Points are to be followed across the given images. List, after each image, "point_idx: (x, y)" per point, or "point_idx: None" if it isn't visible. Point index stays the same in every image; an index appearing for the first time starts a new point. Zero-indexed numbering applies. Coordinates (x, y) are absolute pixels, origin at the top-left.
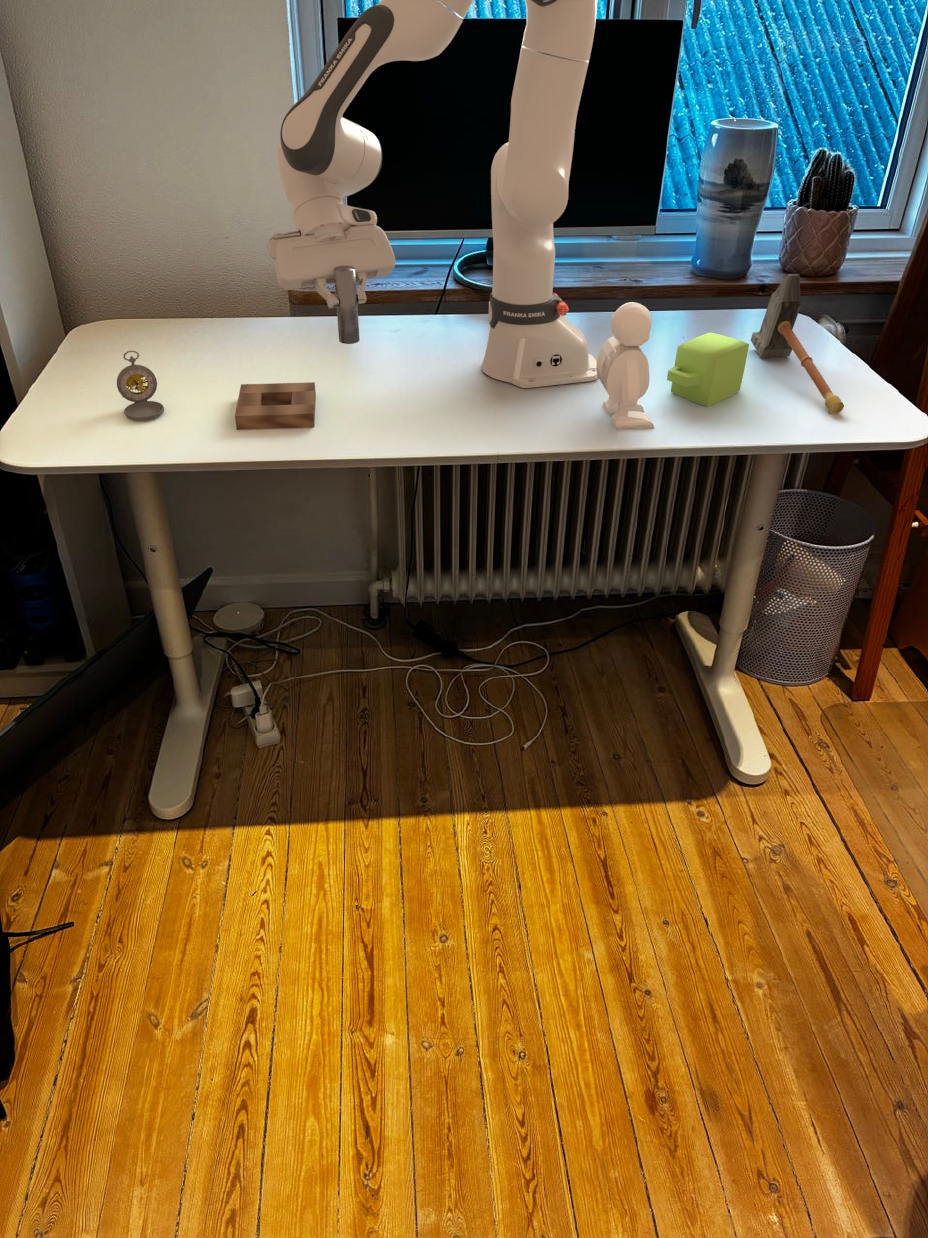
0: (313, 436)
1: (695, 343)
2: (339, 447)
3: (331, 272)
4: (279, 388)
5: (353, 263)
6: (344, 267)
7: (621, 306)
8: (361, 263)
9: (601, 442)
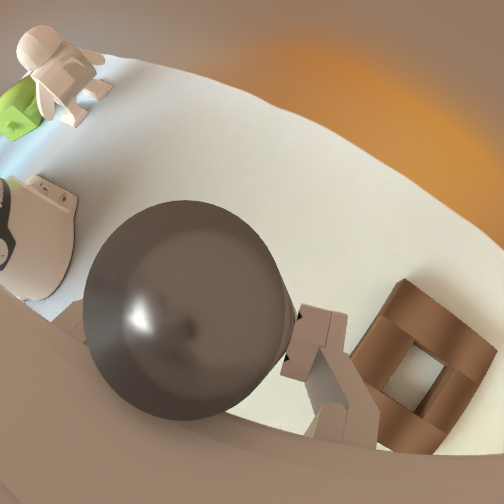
0: (413, 254)
1: (7, 102)
2: (396, 198)
3: (253, 430)
4: (388, 418)
5: (44, 373)
6: (143, 343)
7: (27, 38)
8: (17, 337)
9: (143, 71)
